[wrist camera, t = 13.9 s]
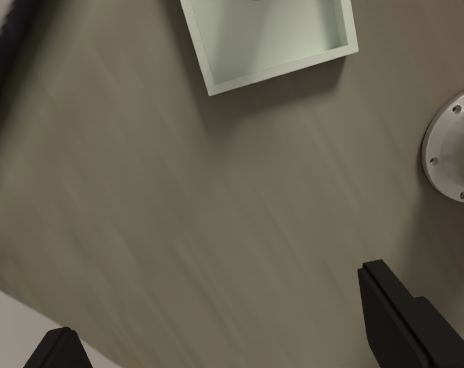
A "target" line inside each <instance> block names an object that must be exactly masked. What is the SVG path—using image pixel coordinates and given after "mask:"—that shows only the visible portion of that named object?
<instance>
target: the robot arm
mask: <svg viewBox="0 0 464 368" xmlns="http://www.w3.org/2000/svg"><path fill="white" fill-rule="evenodd" d="M430 160H431V161H430ZM422 165H423V168H424V172H425V174H426V176H427V178H428V180H429V182H430V183H431V184H432V185H433V186H434V187H435V189H436V190H438V191H439V192H441V193H442V194H444V195H445V196H447V197H449V198H451V199H453V200H456V201H459V202H464V92H462V93H460V94H458V95H457V96H456V97H454V98H453V99H451V100H450V101H449V102H448V103H447V104H446V105H445V106H444V107H442V108H441V109H440V111H439V112H438V113H437V115H436V116H435V117H434V119H433V120H432V122H431V124H430V126H429V127H428V129H427V131H426V135H425V138H424V141H423V146H422ZM358 278H359V285H360V292H361V299H362V306H363V313H364V320H365V327H366V334H367V339H368V343H369V345H370V348H371V350H372V352H373V354H374V356H375V358H376V360H377V362H378V363H379V365H380V367H381V368H464V340H463V339H462V338H461V337H460V336H459V335H458V334H457V332H456V331H455V330H454V329H453V328H452V327H451V326H450V324H449V323H448V322H447V321H446V320H445V319H444V318H443V316H442V315H441V314H440V313H439V312H438V311H437V310H436V308H435V307H434V306H433V305H432V304H431V303H430V302H429V301H428V300H427V299H426V298H425V297H423V296H421V297H416V298H413V296H412V295H411V294H410V293H409V291H408V290H407V289H406V288H405V287H404V285H403V284H402V283H401V282H400V281H399V279H398V278H397V277H396V276H395V274H394V273H393V272H392V271H391V270H390V268H389V267H388V266H387V265H386V264H385V262H384V261H383V260H381V259H380V260H375V261H370V262H366V263H363V268H360V269H358ZM23 368H93V367H92V365H91V363H90V361H89V359H88V356H87V354H86V352H85V350H84V348H83V345H82V344H81V341H80V339H79V337H78V335H77V333H76V331H74V330H71V329H70V328H69V327H63V328H58V329H53V330H50V331H48V332H47V333H46V335H45V336H44V338H43V339H42V341H41V342H40V344H39V345H38V346H37V348H36V349H35V351H34V353H33V354H32V355H31V357H30V358H29V360H28V361H27V363H26V364H25V366H24V367H23Z"/></svg>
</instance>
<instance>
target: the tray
mask: <svg viewBox="0 0 464 368" xmlns="http://www.w3.org/2000/svg"><path fill="white" fill-rule="evenodd" d="M180 1H181V5H182V8H183V11H184V14H185V18H186V21H187V24H188V28H189V31H190V34H191V38H192V41H193V44H194V48H195V51H196V54H197V58H198V61H199V64H200V68H201V71H202V74H203V77H204V81H205V84H206V87H207V91H208V94H209V96H212V95H215V94H219V93H222V92H225V91H229V90H232V89H235V88H239V87H242V86H245V85H249V84H252V83H255V82H259V81H262V80H265V79H269V78H272V77H275V76H279V75H282V74H285V73H289V72H292V71H295V70H299V69H302V68H305V67H309V66H312V65H315V64H318V63H322V62H325V61H328V60H332V59H335V58H338V57H342V56H345V55H348V54H352V53H355V52H358V44H357V38H356V32H355V26H354V20H353V13H352V7H351V1H350V0H256V1H254V0H180Z"/></svg>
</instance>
